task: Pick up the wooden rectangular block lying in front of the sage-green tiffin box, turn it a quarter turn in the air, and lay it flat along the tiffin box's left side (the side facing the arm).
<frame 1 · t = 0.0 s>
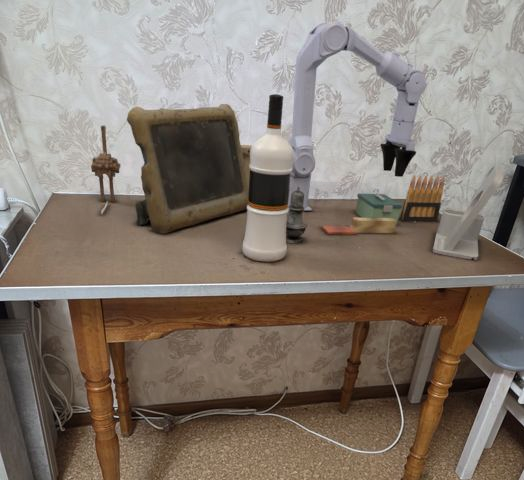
hand: (392, 173, 137), 10 cm above the table, tool pointing down, fingers open, 7 cm apart
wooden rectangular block: (371, 231, 122), on the table
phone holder: (455, 246, 117), on the table
tiffin box: (375, 218, 133), on the table
vodka: (263, 256, 101), on the table
ammunition clip: (418, 220, 134), on the table
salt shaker: (292, 240, 112), on the table
ostrich figurine: (105, 206, 124), on the table
tablet: (195, 218, 121), on the table
handle: (244, 204, 136), on the table
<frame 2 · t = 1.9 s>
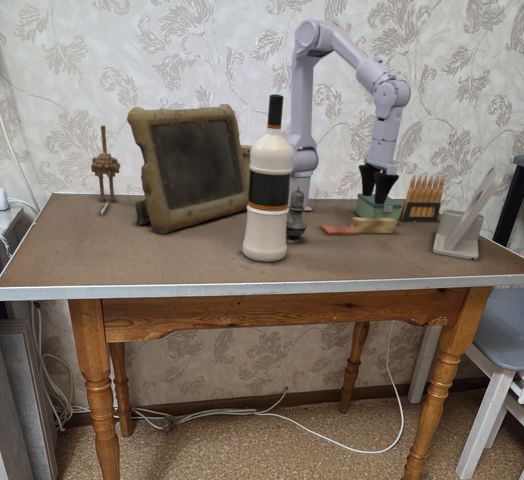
hand: (372, 199, 118), 8 cm above the table, tool pointing down, fingers open, 7 cm apart
nothing on the table moved.
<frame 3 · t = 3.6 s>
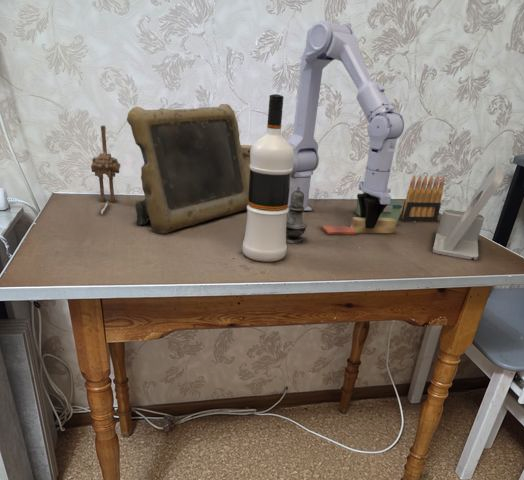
hand: (367, 226, 121), 1 cm above the table, tool pointing down, fingers closed on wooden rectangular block, 2 cm apart
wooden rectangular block: (371, 231, 122), on the table, touching gripper
everything else where it was.
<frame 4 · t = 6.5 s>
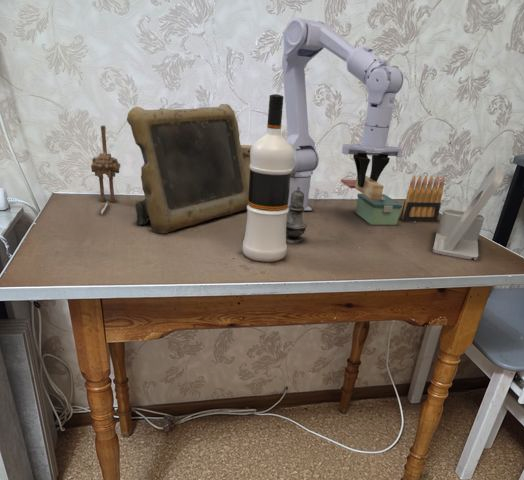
hand: (365, 186, 119), 10 cm above the table, tool pointing down, fingers closed on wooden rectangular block, 2 cm apart
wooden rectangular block: (367, 193, 118), point 9 cm above the table, touching gripper
everything else where it was.
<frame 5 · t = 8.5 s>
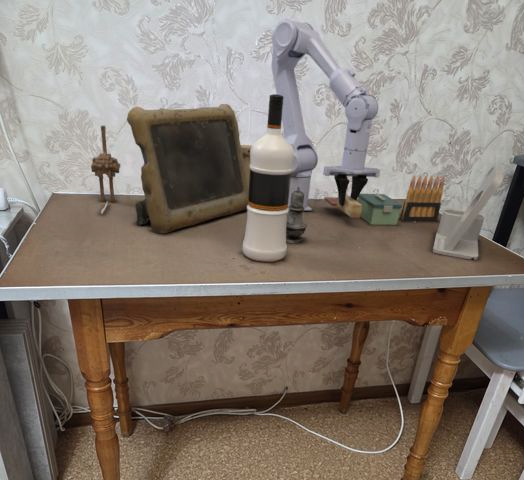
hand: (346, 204, 127), 4 cm above the table, tool pointing down, fingers closed on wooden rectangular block, 2 cm apart
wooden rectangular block: (347, 211, 126), point 3 cm above the table, touching gripper
everything else where it was.
when the fingers open (1 cm above the table, at t = 9.6 s): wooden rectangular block stays where it is, on the table.
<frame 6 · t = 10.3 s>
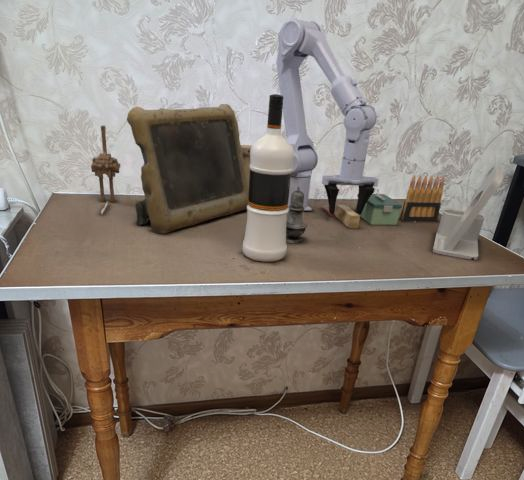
hand: (345, 213, 128), 2 cm above the table, tool pointing down, fingers open, 7 cm apart
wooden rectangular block: (346, 222, 127), on the table
everything else where it was.
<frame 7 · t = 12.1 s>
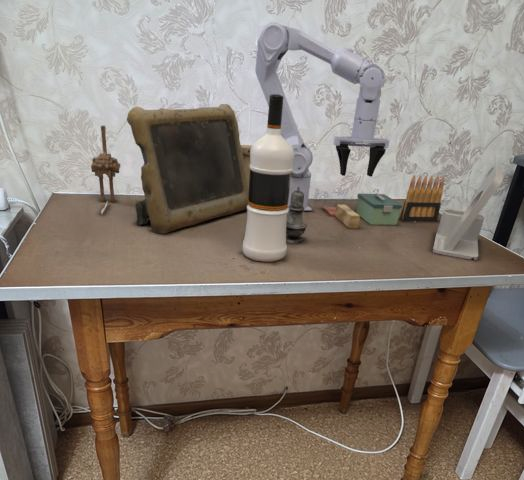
hand: (356, 175, 129), 10 cm above the table, tool pointing down, fingers open, 7 cm apart
nothing on the table moved.
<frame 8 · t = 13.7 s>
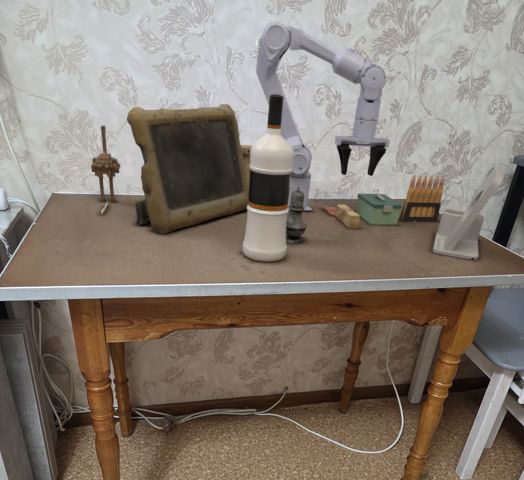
hand: (356, 174, 130), 10 cm above the table, tool pointing down, fingers open, 7 cm apart
nothing on the table moved.
at the end: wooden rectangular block inside the target area on the table beside the tiffin box (0.1 cm from its centre), on the table; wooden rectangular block tilted 0°; the gripper is holding nothing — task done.
